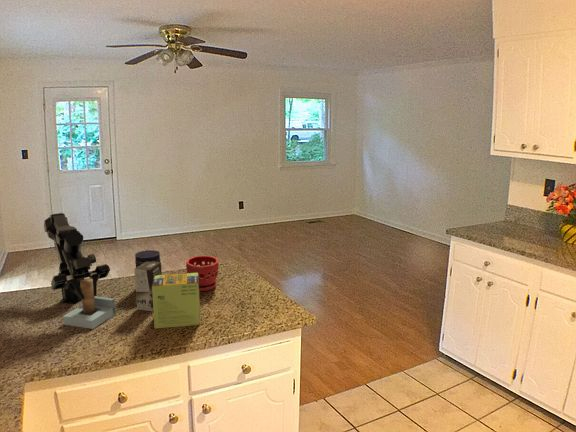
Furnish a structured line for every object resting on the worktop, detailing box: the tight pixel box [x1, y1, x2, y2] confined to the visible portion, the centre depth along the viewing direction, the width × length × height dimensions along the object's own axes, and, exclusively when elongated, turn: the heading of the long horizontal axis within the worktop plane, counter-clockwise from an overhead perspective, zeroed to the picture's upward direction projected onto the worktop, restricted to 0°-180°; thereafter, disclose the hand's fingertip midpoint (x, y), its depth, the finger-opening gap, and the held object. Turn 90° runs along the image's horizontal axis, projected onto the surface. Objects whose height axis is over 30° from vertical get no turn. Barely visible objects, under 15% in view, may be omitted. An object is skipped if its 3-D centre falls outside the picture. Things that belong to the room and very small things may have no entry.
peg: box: [80, 277, 96, 316], centre depth 154 cm, size 4×4×13 cm
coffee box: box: [134, 261, 163, 312], centre depth 166 cm, size 9×6×16 cm
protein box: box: [152, 272, 201, 329], centre depth 154 cm, size 10×15×16 cm
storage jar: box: [134, 249, 161, 268], centre depth 182 cm, size 10×10×15 cm
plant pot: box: [185, 255, 219, 292], centre depth 184 cm, size 13×13×12 cm
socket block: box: [62, 295, 117, 330], centre depth 155 cm, size 12×12×6 cm
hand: (89, 297), depth 153 cm, fingers closed on peg, 4 cm apart
